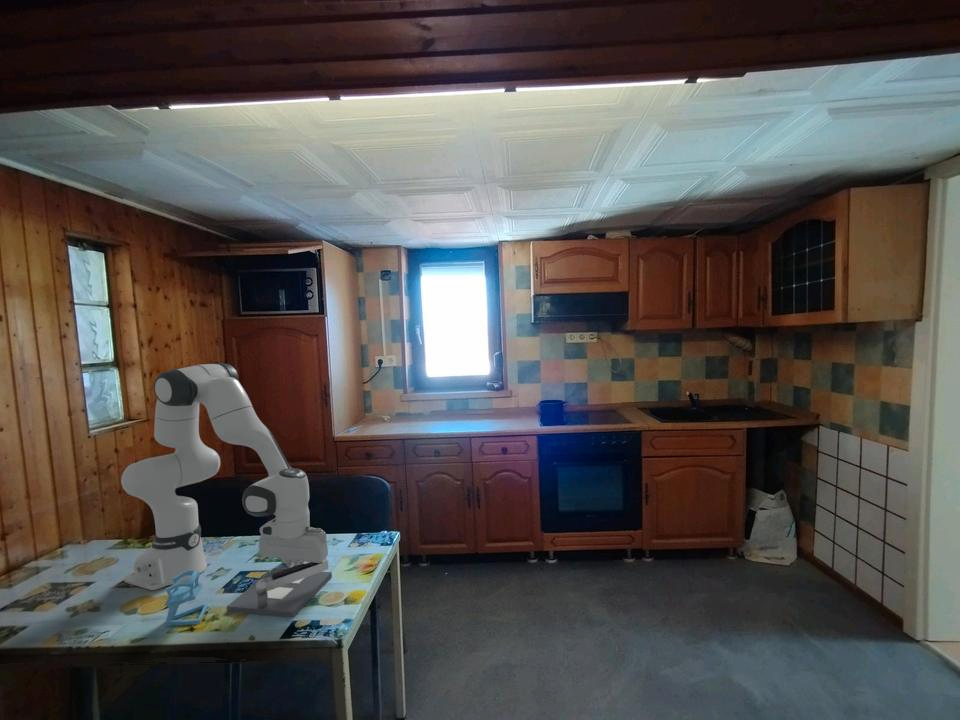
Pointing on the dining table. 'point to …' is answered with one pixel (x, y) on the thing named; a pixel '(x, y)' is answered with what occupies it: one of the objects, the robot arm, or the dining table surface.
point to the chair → (183, 599)
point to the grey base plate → (280, 596)
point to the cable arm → (290, 576)
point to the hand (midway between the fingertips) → (293, 572)
